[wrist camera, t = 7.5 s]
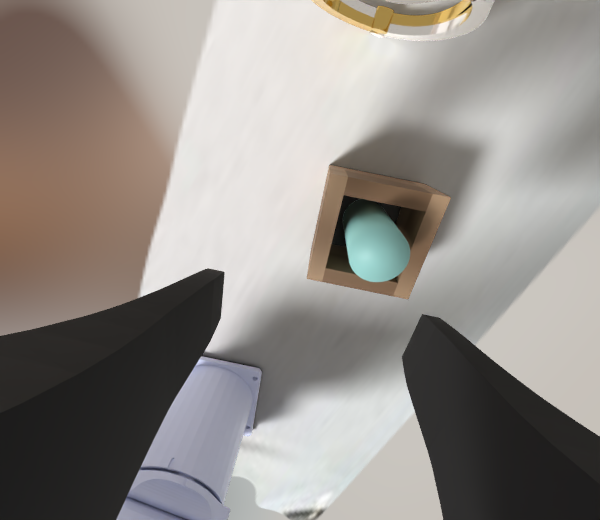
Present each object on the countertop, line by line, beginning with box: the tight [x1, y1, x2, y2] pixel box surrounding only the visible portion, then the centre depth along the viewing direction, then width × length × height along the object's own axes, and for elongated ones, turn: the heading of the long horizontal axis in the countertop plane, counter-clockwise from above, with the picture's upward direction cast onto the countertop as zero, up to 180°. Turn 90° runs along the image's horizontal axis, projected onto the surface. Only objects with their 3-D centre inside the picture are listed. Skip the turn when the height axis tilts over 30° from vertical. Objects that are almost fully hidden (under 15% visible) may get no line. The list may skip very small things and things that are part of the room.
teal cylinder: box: [343, 199, 410, 282], centre depth 15 cm, size 3×3×6 cm
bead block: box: [307, 165, 451, 299], centre depth 16 cm, size 6×6×4 cm
